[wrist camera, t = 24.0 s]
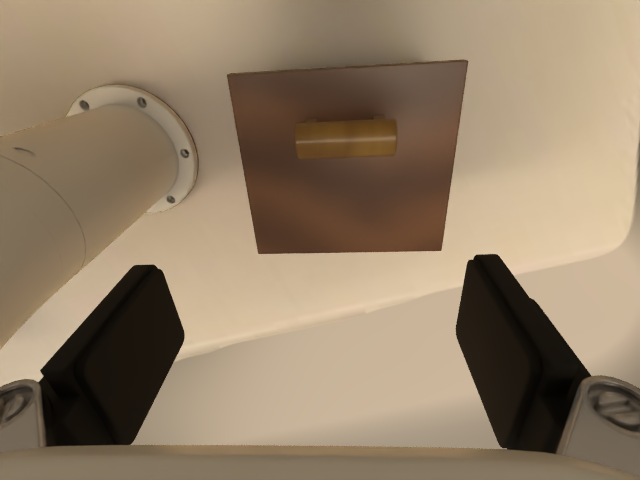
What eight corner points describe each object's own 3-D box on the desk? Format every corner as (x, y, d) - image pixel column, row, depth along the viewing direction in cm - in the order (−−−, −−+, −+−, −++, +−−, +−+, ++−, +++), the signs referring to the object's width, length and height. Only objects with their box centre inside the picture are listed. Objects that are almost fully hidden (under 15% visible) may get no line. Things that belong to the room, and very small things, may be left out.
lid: (230, 73, 21) (196, 85, 16) (464, 59, 20) (502, 67, 15) (260, 248, 27) (242, 295, 22) (438, 245, 26) (460, 293, 21)
